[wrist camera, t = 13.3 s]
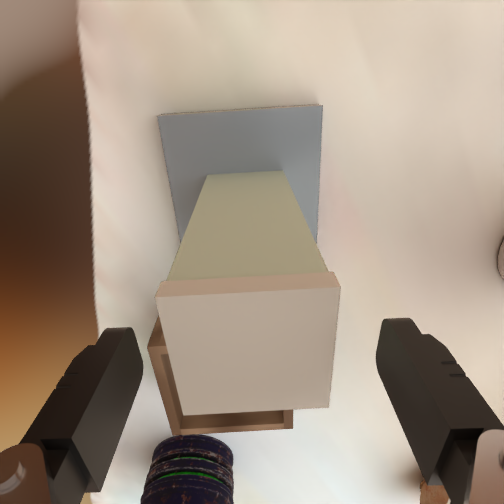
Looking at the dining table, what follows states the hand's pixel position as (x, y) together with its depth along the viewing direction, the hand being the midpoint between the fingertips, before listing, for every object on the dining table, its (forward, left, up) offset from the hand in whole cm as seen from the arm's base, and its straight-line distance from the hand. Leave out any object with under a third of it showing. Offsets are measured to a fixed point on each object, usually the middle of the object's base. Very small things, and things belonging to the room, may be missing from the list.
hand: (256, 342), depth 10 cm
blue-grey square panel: (0, 0, -14) cm, 14 cm away
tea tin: (0, 0, -13) cm, 13 cm away
